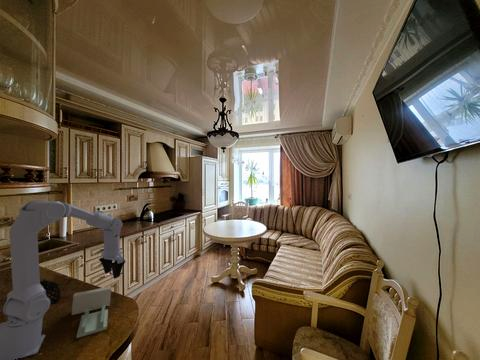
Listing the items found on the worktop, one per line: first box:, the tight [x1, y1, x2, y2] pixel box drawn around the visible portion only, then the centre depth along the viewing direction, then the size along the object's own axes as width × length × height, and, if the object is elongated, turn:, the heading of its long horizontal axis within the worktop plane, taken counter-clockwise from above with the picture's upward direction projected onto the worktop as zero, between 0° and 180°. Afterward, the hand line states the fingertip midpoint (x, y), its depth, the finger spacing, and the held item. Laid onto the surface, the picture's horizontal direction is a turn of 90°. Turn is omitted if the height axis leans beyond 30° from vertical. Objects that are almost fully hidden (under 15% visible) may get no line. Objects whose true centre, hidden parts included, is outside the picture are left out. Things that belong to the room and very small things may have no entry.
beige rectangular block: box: [71, 285, 112, 316], centre depth 76 cm, size 12×2×7 cm, turn 123°
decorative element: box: [40, 278, 62, 305], centre depth 85 cm, size 22×5×6 cm, turn 60°
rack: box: [76, 305, 109, 339], centre depth 68 cm, size 8×11×3 cm
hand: (112, 274), depth 84 cm, fingers open, 7 cm apart
